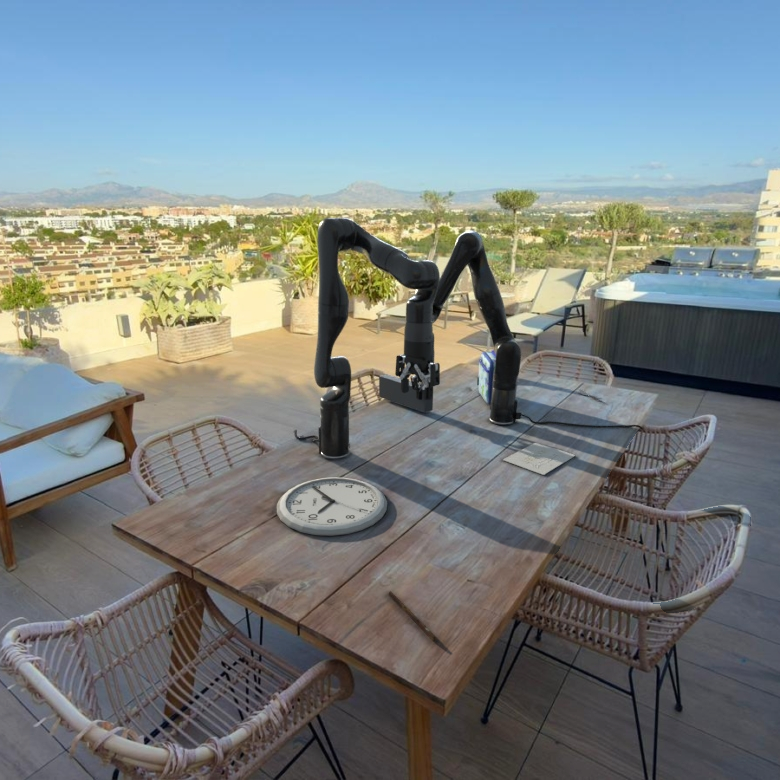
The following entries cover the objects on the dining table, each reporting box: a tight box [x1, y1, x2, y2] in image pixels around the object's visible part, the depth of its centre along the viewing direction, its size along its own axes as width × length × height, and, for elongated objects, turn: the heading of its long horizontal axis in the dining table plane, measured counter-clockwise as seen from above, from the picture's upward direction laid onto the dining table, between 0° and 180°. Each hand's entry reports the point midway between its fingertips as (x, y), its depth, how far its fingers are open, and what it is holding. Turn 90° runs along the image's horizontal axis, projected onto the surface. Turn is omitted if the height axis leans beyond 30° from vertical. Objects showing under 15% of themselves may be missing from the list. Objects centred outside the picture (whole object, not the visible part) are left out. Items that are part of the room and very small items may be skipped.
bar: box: [378, 373, 434, 413], centre depth 221 cm, size 28×5×10 cm, turn 43°
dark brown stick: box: [388, 590, 436, 642], centre depth 102 cm, size 15×1×1 cm, turn 34°
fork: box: [579, 387, 603, 403], centre depth 238 cm, size 3×16×2 cm, turn 15°
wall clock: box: [276, 476, 388, 537], centre depth 142 cm, size 30×2×30 cm
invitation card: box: [502, 442, 577, 476], centre depth 174 cm, size 21×1×15 cm
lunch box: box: [476, 349, 496, 406], centre depth 230 cm, size 26×11×21 cm, turn 179°
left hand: (416, 395), depth 144 cm, fingers open, 8 cm apart
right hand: (423, 398), depth 213 cm, fingers closed on bar, 4 cm apart
